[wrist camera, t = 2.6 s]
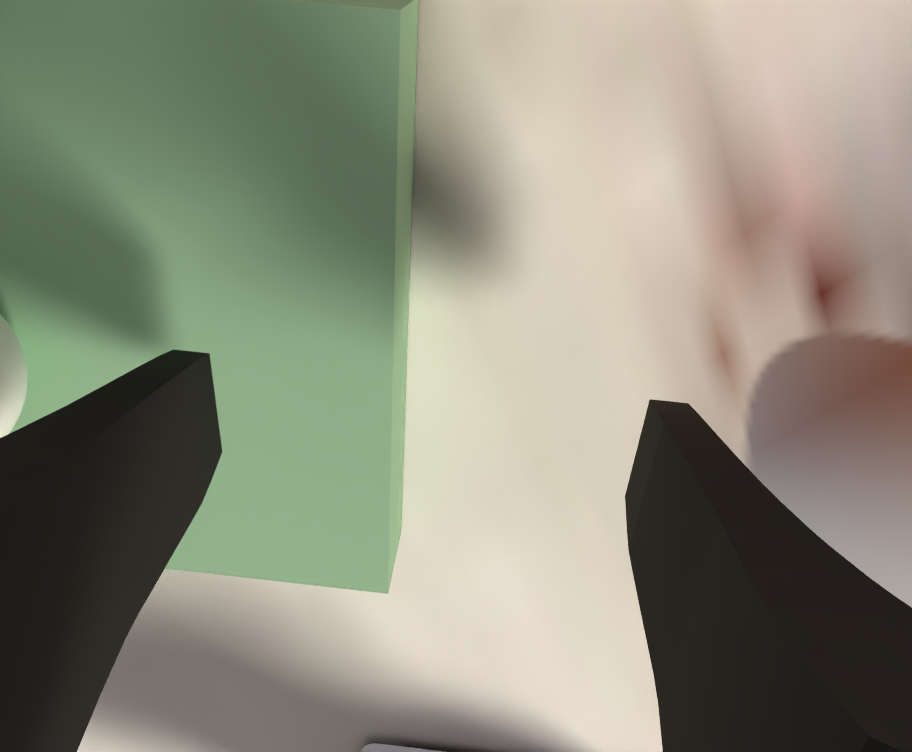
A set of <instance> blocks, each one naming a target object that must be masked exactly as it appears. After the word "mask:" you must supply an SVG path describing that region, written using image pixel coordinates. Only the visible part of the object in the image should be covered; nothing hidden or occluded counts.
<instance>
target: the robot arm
mask: <svg viewBox="0 0 912 752" xmlns="http://www.w3.org/2000/svg"><path fill="white" fill-rule="evenodd" d="M221 454H222V445H221V437H220V430H219V422H218V415H217V407H216V399H215V392H214V384H213V376H212V369H211V361H210V353H202V352H192V351H183V350H171V351H169V352H167V353H164V354H162V355H160V356H158V357H156V358H154V359H152V360H150V361H148V362H146V363H144V364H142V365H141V366H139V367H137V368H135V369H133V370H131V371H129V372H128V373H126V374H124V375H122V376H120V377H118V378H117V379H115V380H113V381H111V382H109V383H107V384H106V385H104V386H102V387H100V388H98V389H96V390H94V391H93V392H91V393H89V394H87V395H85V396H83V397H82V398H80V399H78V400H76V401H74V402H72V403H70V404H68V405H67V406H65V407H63V408H61V409H59V410H57V411H54V412H52V413H50V414H48V415H46V416H44V417H42V418H40V419H38V420H36V421H34V422H32V423H30V424H28V425H26V426H24V427H22V428H20V429H18V430H16V431H14V432H12V433H10V434H8V435H6V436H3V437H1V438H0V752H77V750H78V747H79V745H80V742H81V740H82V738H83V735H84V733H85V730H86V728H87V725H88V723H89V721H90V718H91V716H92V713H93V711H94V709H95V706H96V704H97V701H98V699H99V697H100V694H101V692H102V690H103V687H104V685H105V683H106V681H107V678H108V676H109V674H110V672H111V669H112V667H113V665H114V663H115V661H116V658H117V656H118V654H119V652H120V649H121V647H122V645H123V643H124V640H125V638H126V636H127V634H128V632H129V631H130V629H131V627H132V625H133V623H134V621H135V619H136V617H137V615H138V613H139V612H140V610H141V608H142V606H143V605H144V603H145V601H146V600H147V598H148V596H149V594H150V593H151V591H152V589H153V588H154V586H155V584H156V582H157V581H158V579H159V577H160V576H161V574H162V572H163V570H164V569H165V567H166V565H167V563H168V562H169V560H170V558H171V557H172V555H173V553H174V551H175V550H176V548H177V546H178V545H179V543H180V541H181V539H182V538H183V536H184V534H185V532H186V531H187V529H188V527H189V525H190V524H191V522H192V520H193V518H194V517H195V515H196V513H197V511H198V509H199V508H200V506H201V504H202V502H203V500H204V497H205V495H206V492H207V490H208V488H209V485H210V483H211V481H212V478H213V475H214V473H215V470H216V467H217V465H218V462H219V459H220V457H221ZM625 502H626V520H627V535H628V548H629V555H630V560H631V565H632V570H633V575H634V580H635V585H636V590H637V595H638V600H639V605H640V610H641V615H642V620H643V625H644V629H645V634H646V639H647V644H648V649H649V654H650V659H651V663H652V668H653V673H654V679H655V685H656V692H657V698H658V705H659V716H660V726H661V736H662V746H663V752H912V608H911V607H910V606H908V605H907V604H905V603H904V602H902V601H901V600H900V599H898V598H897V597H895V596H894V595H892V594H891V593H889V592H888V591H887V590H885V589H884V588H883V587H881V586H880V585H879V584H877V583H876V582H875V581H873V580H872V579H870V578H869V577H868V576H866V575H865V574H864V573H863V572H861V571H860V570H859V569H858V568H856V567H855V566H854V565H853V564H851V563H850V562H849V561H847V560H846V559H845V558H844V557H843V556H841V555H840V554H839V553H838V552H836V551H835V550H834V549H833V548H831V547H830V546H829V545H828V544H827V543H825V542H824V541H823V540H822V539H821V538H820V537H818V536H817V535H816V534H815V533H814V532H813V531H812V530H810V529H809V528H808V527H807V526H806V525H805V524H804V523H803V522H802V521H801V520H800V519H799V518H797V517H796V516H795V515H794V514H793V513H792V512H791V511H790V510H789V509H788V508H787V507H786V506H785V505H783V504H782V503H781V502H780V501H779V500H778V499H777V498H776V497H775V496H774V495H773V494H772V493H771V492H770V491H769V490H768V489H767V488H766V487H765V486H764V485H763V484H762V483H761V482H760V481H759V480H758V479H757V478H756V477H755V476H754V474H753V473H752V472H751V471H750V470H749V469H748V468H747V467H746V466H745V465H744V464H743V463H742V462H741V461H740V460H739V459H738V457H737V456H736V455H735V454H734V453H733V452H732V451H731V450H730V449H729V448H728V446H727V445H726V444H725V443H724V442H723V441H722V440H721V439H720V438H719V437H718V435H717V434H716V433H715V432H714V431H713V430H712V429H711V428H710V426H709V425H708V424H707V423H706V422H705V421H704V420H703V419H702V418H701V416H700V415H699V414H698V413H697V412H696V411H695V410H694V409H693V408H692V407H691V406H690V405H689V404H688V403H679V402H669V401H660V400H650V401H649V405H648V409H647V412H646V416H645V420H644V424H643V428H642V432H641V436H640V440H639V444H638V448H637V452H636V456H635V460H634V464H633V467H632V471H631V475H630V479H629V483H628V487H627V491H626V495H625ZM362 752H445V751H436V750H428V749H420V748H412V747H404V746H395V745H387V744H379V743H371V744H368V745H366V746H364V747H363V749H362Z"/></svg>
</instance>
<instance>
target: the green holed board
mask: <svg viewBox="0 0 912 752" xmlns="http://www.w3.org/2000/svg"><path fill="white" fill-rule="evenodd" d="M418 5H419V0H0V315H1V316H2V317H3V318H4V319H5V320H6V321H7V323H8V324H9V325H10V327H11V328H12V330H13V331H14V333H15V335H16V337H17V339H18V341H19V343H20V345H21V348H22V350H23V353H24V356H25V361H26V367H27V378H28V382H27V391H26V398H25V401H24V405H23V408H22V411H21V414H20V416H19V418H18V420H17V422H16V423H15V425H14V427H13V428H12V430H11V432H10V433H12V432H14V431H16V430H18V429H20V428H22V427H24V426H26V425H28V424H30V423H32V422H34V421H36V420H38V419H40V418H42V417H44V416H46V415H48V414H50V413H52V412H54V411H57V410H59V409H61V408H63V407H65V406H67V405H68V404H70V403H72V402H74V401H76V400H78V399H80V398H82V397H83V396H85V395H87V394H89V393H91V392H93V391H94V390H96V389H98V388H100V387H102V386H104V385H106V384H107V383H109V382H111V381H113V380H115V379H117V378H118V377H120V376H122V375H124V374H126V373H128V372H129V371H131V370H133V369H135V368H137V367H139V366H141V365H142V364H144V363H146V362H148V361H150V360H152V359H154V358H156V357H158V356H160V355H162V354H164V353H167V352H169V351H171V350H183V351H192V352H202V353H210V361H211V369H212V376H213V384H214V392H215V399H216V407H217V415H218V422H219V430H220V437H221V445H222V454H221V457H220V459H219V462H218V465H217V467H216V470H215V473H214V475H213V478H212V481H211V483H210V485H209V488H208V490H207V492H206V495H205V497H204V500H203V502H202V504H201V506H200V508H199V509H198V511H197V513H196V515H195V517H194V518H193V520H192V522H191V524H190V525H189V527H188V529H187V531H186V532H185V534H184V536H183V538H182V539H181V541H180V543H179V545H178V546H177V548H176V550H175V551H174V553H173V555H172V557H171V558H170V560H169V562H168V563H167V565H166V567H165V568H166V569H175V570H184V571H193V572H202V573H211V574H219V575H228V576H237V577H246V578H255V579H263V580H272V581H281V582H290V583H299V584H307V585H316V586H325V587H334V588H343V589H351V590H360V591H369V592H378V593H387V594H388V591H389V586H390V581H391V577H392V572H393V567H394V563H395V558H396V553H397V548H398V544H399V539H400V534H401V519H402V489H403V459H404V429H405V398H406V368H407V338H408V308H409V277H410V247H411V217H412V187H413V156H414V126H415V96H416V66H417V35H418ZM10 433H9V434H10Z"/></svg>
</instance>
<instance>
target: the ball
mask: <svg viewBox="0 0 912 752" xmlns="http://www.w3.org/2000/svg"><path fill="white" fill-rule="evenodd" d="M27 382H28V378H27V367H26V361H25V356H24V353H23V350H22V348H21V345H20V343H19V341H18V339H17V337H16V335H15V333H14V331H13V330H12V328H11V327H10V325H9V324H8V323H7V321H6V320H5V319H4V318H3V317H2V316H1V315H0V438H1V437H3V436H6V435H8V434H9V433H10V432H11V430H12V428H13V427H14V425H15V423H16V422H17V420H18V418H19V416H20V414H21V411H22V408H23V405H24V401H25V398H26V391H27Z"/></svg>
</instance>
